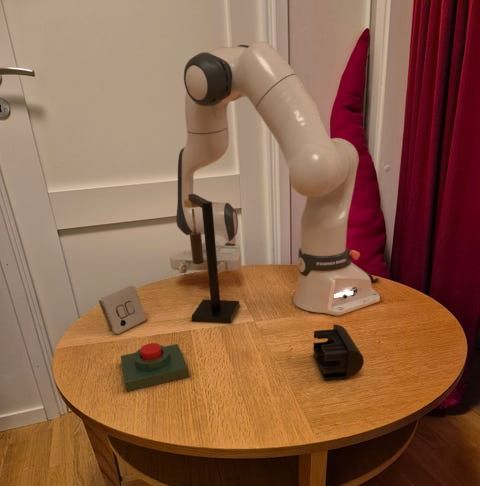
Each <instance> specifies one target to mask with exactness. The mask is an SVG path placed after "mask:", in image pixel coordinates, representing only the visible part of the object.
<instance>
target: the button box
mask: <svg viewBox="0 0 480 486" xmlns="http://www.w3.org/2000/svg"><path fill="white" fill-rule="evenodd" d="M159 345H160V344H159ZM160 346H161V351H162V356H161V357H159V358H158V359H155V360H143V359H142V357H141V352H140V349H141V348H139V349H137V350H136V352H132V353H128V354H123V355H120V362H121V369H122V376H123V382H124V387H125V392H130V391H135V390H140V389H144V388H148V387H152V386H157V385H161V384H166V383H169V382H173V381H178V380H182V379H187V378H189V376H190V375H189V370H188V366H187V363H186V360H185V359H184V356H183V353H182V351H181V348H180V346H179V344H178V343H175V344H170V345H163V344H162V345H160Z"/></svg>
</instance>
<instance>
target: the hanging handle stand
mask: <svg viewBox="0 0 480 486" xmlns="http://www.w3.org/2000/svg"><path fill="white" fill-rule="evenodd" d="M188 197H189V199H185V200H184V206H185V207H186V208H195V207H201V208H202V215H203V225H204V234H203V235H204V241H205V246H206V257H207V268H208V271H207V278H208V288H209V297H210V298H209V299H205V298H204V299H202V300H201V302H200V303H199V304H198V306H197V307H196V308H195V310H194V312H193V313H192V315H191V317H190V318H191V322H197V323H213V324H214V323H215V324H216V323H217V324H231V323H232V322H233V320H234V318H235V316H236V314H237V312H238V310H239V308H240V305H241V304H240V303H241V302H240V300H228V299H227V300H225V299H221V295H220V283H219V282H220V281H219V274H218V268H217V256H216V244H215V232H214V220H213V207H212V203H213V201H211V200H207V199H206V198H204V197H202V196H199V195H198V194H196V193H193V194H188Z"/></svg>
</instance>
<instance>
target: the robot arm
mask: <svg viewBox="0 0 480 486" xmlns="http://www.w3.org/2000/svg"><path fill="white" fill-rule="evenodd" d="M183 70H184V71H183V84H184V87H185V96H184V98H185V99H184V103H185V104H184V110H185V111H184V113H185V127H186V133H187V135H186V136H187V137H186V143H185V145H184V147H183V148H181V149H180V151H179V155H178V159H177V206H176V215H175V216H176V217H175V218H176V219H175V221H176V227H177V228H178V229H179V230H180V231H181V232H182V233H183V234H184V235H185V236H190V233H191V232H194V227H193V218H192V209H194V214H195V224H196V232H201V235H204V225H203V215H202V208H201V207H195V208H186V207H185V206H184V200H185V199H189V197H188V194H194V175H195V173H196V172H198V170H200V169H203V168H205V167H207V166H209V165H212V164H214V163H216V162H217V161H218V160H220V159H221V158H222V157H223V156H224V155H225V154H226V151H227V150H228V147H229V143H230V142H229V140H230V137H229V136H230V134H229V133H230V132H229V122H228V121H229V120H228V105H229V104H230V102H234V101H237V100H240V99H242V98H244V97H246V98H247V99H248V100H249V102H250V103H251V105H252V106H253V108H254V109H255V111H256V113H257V114H258V115H259V116H260V118H261V120H262V121H263V123H264V124H265V126H266V127H267V128H268V130H269V131H270V134H272V136H273V138H274V139H275V142H276V143H277V144H278V147H279V149H280V152H281V153H282V156H283V159H284V161H285V163H286V166H287V168H288V179H289V183H290V185H291V187H292V189H293V190H294V191H295V192H296V193H298V194H299V195H301V196H303V197H306V198H305V199H306V200H305V204H304V208H303V210H302V213H301V216H300V243H299V245H300V247H299V248H298V255H297V257H298V258H297V269H298V278H297V283H296V289H295V293H294V296H293V298H292V302H293V304H294V305H295V306H296V307H298V308H299V309H302V310H304V311H308V312H312V313H319V314H327V315H331V316H336V317H337V316H342V315H345V314H348V313H352V312H353V311H357V310H359V309H362V308H365V307H368V306H371V305H373V304H377V303H379V302H380V301H381V296H380V294H379V293H378V291H376V290H375V289H374V288H373V287H372V283H376V282H378V281H379V277H376V278H374V277H373V275H372V274H371V273H369V272H368V271H364V270H363V269H361V268H360V267H359V266H357V265H356V264H355V263H354V262H352V259H353V260H354V261H357V260H359V258H360V256H361V253H360V252H359V251H357V250H355V249H352V250H351V249H350V248H348V247H347V237H348V236H347V235H348V234H347V233H348V223H349V213H350V209H351V204H352V199H353V195H354V189H355V185H356V176H357V171H358V167H359V163H360V156H359V152H358V151H357V150H358V149H357V148H356V146H354V144H352V143H351V142H350V141H348V140H347V139H343V138H340V137H333V138H331V137H330V135H329V134H328V131H327V129H326V127H325V125H324V123H323V120H322V118H321V115H320V113H319V108H318V105H317V103H316V101H315V100H314V99H313V97H312V96H311V94H310V93H309V92H308V90H307V88H306V87H305V85H304V84H303V82H302V81H301V80H300V78H299V76H298V75H297V73H296V72H295V71H294V70H293V68H292V66H291V65H290V64H289V63H288V61H287V60H286V59H285V58H284V57H283V56H282V55H281V53H279V51H278V50H277V49H276V48H274V47H273V46H272V45H271V44H270V43H268V42H266V41H257V42H254V43H252V44H251V45H249V44H240V45H239V44H238V45H237V46H221V47H217V48H214V49H211V50H209V51H206V52H199V53H197V54H196V55H194V56H193V57H191V58H190V59H188V61H187V63H186V64H185V67H184V69H183ZM212 207H213V220H214V232H215V244H216V256H217V268H218V275H219V274H220V273H222V272H239V271H240V270H241V269H242V259H241V258H242V256H241V248H240V245H239V244H236V243H237V242H236V236H237V234H238V229H239V220H238V219H239V218H238V213H237V211H236V210H235V208H234V207H233V206H232V205H231V203H229V202H219V201H217V202H215V201H212ZM202 248H203V258H204V263H202V264H193V260H192V251H191V250H180V251H178V252H177V253H175V254H173V255H172V256H170V258H169V260H170V267H171V269H172V271H173V270H174V271H179V274H186V273H188V271H207V272H208V268H207V257H206V246H205V240H204V241H202Z"/></svg>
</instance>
